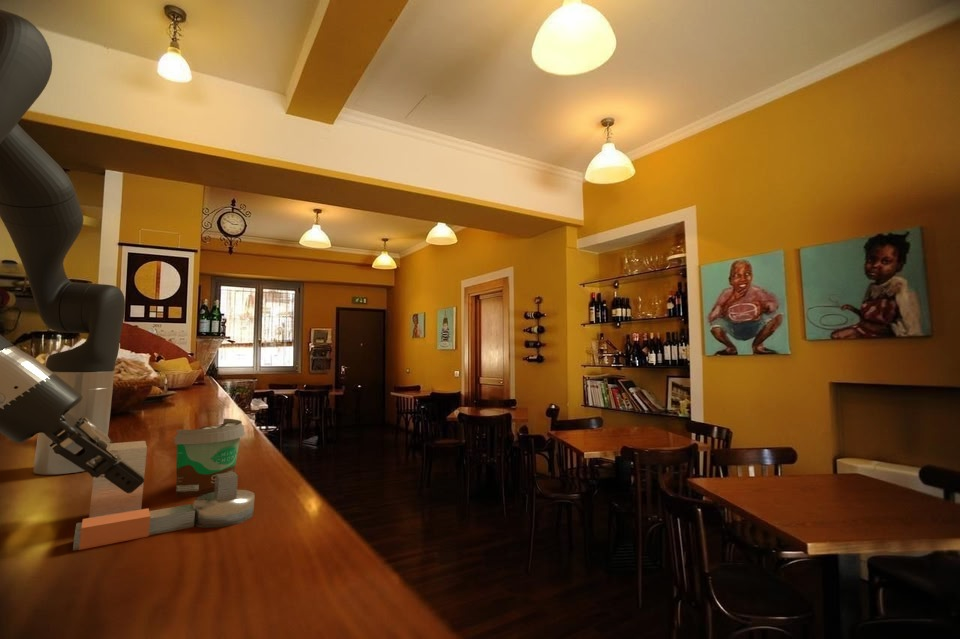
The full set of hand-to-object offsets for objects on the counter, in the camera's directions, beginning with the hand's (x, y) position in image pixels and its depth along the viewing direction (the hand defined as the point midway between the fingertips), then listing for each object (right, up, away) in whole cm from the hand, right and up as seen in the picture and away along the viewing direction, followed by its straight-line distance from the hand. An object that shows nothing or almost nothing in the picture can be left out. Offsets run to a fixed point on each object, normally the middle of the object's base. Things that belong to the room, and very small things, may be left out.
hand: (136, 481), depth 57 cm
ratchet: (+8, -4, -4) cm, 10 cm away
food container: (+4, -6, +11) cm, 13 cm away
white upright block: (-2, -4, -2) cm, 5 cm away
